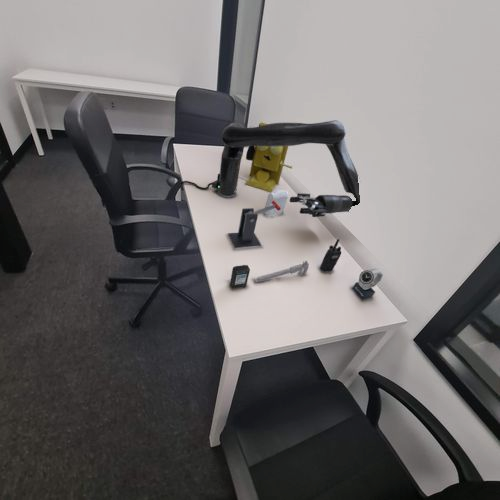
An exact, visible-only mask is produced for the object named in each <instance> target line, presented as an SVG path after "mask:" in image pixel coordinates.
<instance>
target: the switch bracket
mask: <svg viewBox="0 0 500 500" xmlns="http://www.w3.org/2000/svg"><path fill="white" fill-rule="evenodd" d="M249 211H252V213H253V212H255V208H253V207H250V208H242V209H241V214H240V220H239V225H238V231H237V232H230V233H229V232H228V233H227V235H228V237H229V240H230V241H231V243H232V245H233V247H234V249H239V248H251V247H260V246H262V244H261V242H260V240H259V238H258V237H257V235H256V233H255V231H256V230H255V229H256V225H257V221H258V219H259V215H257V214H246V217H245V214H244V213H247V212H249Z"/></svg>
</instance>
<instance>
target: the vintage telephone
mask: <svg viewBox="0 0 500 500" xmlns="http://www.w3.org/2000/svg"><path fill="white" fill-rule="evenodd" d="M267 124H268V123H265V122H260V123H258V127H259V126H263V125H267ZM288 149H289V146H248V148H247V150H246V155H245V160H247V161H248V162H249V161H250V162H251V165H250V171H249V178H248V180H246V179H244V178H242V177H240V176H238V179H241V180H244V181H246V182H245V185H246V186H250V187H252V188H256V189H259V190H262V191H266V192H269V193H271V192H273V190H274V188H275V186H276V185H279V184H280V180H281V175H282V173H283V168H284V167H286V168H288V169H292V168H293V165H289V164H286V163H285V160H286V157H287V153H288Z"/></svg>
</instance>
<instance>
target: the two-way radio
mask: <svg viewBox="0 0 500 500" xmlns="http://www.w3.org/2000/svg"><path fill="white" fill-rule="evenodd" d="M339 242H340V239H339V238H337V239H336V241H335V243H334V245H330V246H329V247H328V249H327V251H326V252H325V254H324V256H323V259H322V262H321V264H320V267H319V269H320V271H321V272H323V273H329V272H330V273H331V272H333V270H334V268H335V266H336V265H337V263H338V261H339V260H340V257H341V255H342V251H341V250H342V247H341V246H338V245H339Z"/></svg>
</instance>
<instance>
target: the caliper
mask: <svg viewBox="0 0 500 500" xmlns="http://www.w3.org/2000/svg"><path fill="white" fill-rule="evenodd" d="M308 270H309V262H308V260H305V261H302V263H299V264H296V265H293V266H290V267H289V268H286V269H285V268H284V269H283V270H282V269H281V270H278V271H275V272H272V273H268V274H265V275H262V276H258V277H257V278H255V279H253V280H254V283H260V282H264V281H268V280H272V279H274V278H275V279H276V278H278V277H281V276H284V275H287V274H290V275H292V274H296V273H299V275H300V276H303V275H302V274H304V275H306V274H307V273H308Z"/></svg>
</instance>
